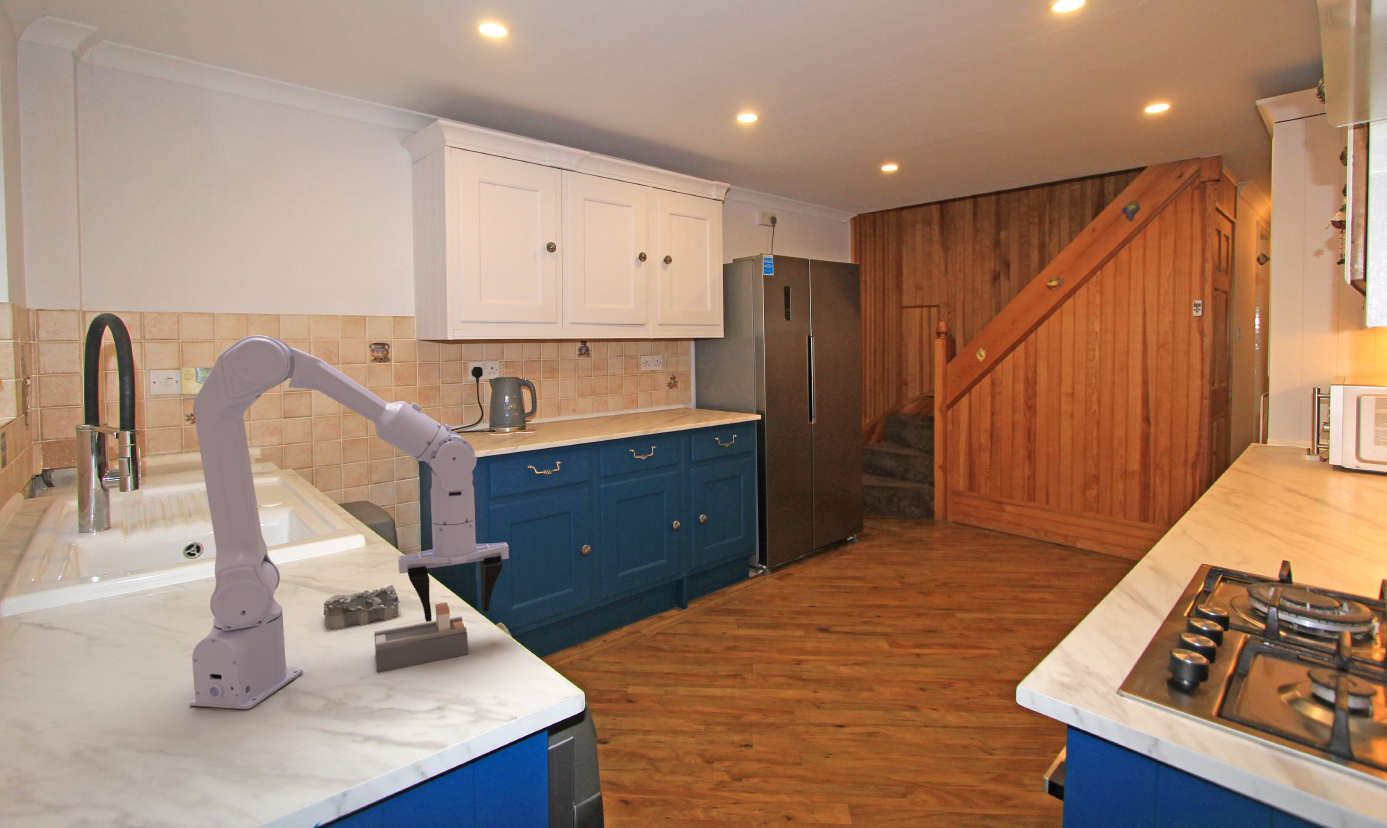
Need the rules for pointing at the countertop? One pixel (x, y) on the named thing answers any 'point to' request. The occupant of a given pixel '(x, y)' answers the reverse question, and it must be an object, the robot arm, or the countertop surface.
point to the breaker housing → (419, 644)
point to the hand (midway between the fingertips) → (457, 613)
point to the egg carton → (360, 607)
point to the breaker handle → (442, 616)
